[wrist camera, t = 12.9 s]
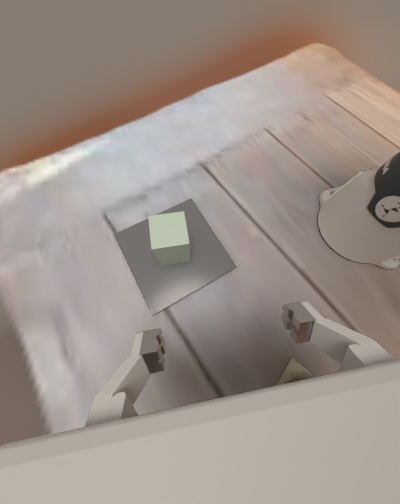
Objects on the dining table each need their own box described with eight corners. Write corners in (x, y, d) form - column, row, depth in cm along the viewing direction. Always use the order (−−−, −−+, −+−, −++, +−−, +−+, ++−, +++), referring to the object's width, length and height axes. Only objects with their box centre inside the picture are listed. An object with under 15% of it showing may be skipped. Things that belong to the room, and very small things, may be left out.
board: (191, 201, 37) (191, 198, 36) (235, 267, 32) (236, 266, 31) (116, 236, 33) (113, 234, 33) (153, 315, 29) (152, 315, 28)
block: (186, 235, 33) (183, 211, 25) (190, 261, 31) (189, 243, 24) (158, 239, 33) (148, 216, 25) (161, 265, 31) (151, 249, 23)
